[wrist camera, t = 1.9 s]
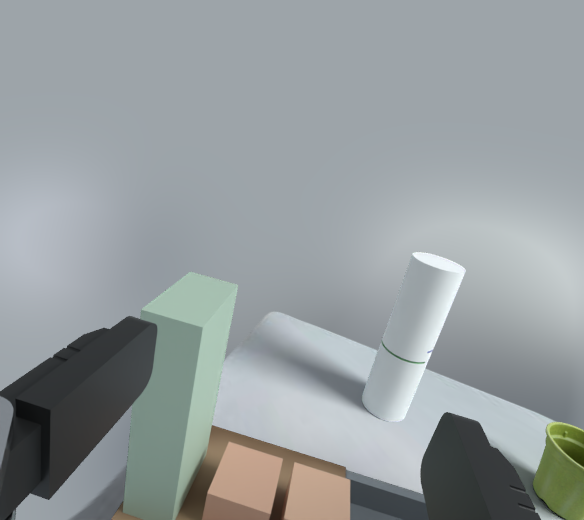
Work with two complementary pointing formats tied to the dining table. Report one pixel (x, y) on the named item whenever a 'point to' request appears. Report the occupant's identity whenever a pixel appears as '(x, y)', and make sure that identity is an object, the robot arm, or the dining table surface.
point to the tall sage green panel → (177, 395)
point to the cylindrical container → (411, 334)
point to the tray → (383, 500)
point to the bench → (218, 441)
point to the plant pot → (562, 471)
